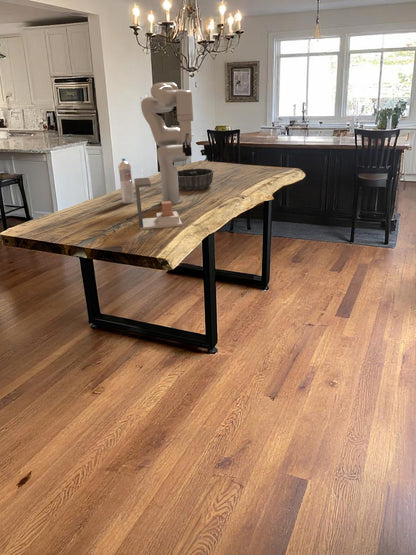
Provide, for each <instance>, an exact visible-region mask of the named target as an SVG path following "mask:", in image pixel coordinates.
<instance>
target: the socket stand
mask: <svg viewBox="0 0 416 555" xmlns="http://www.w3.org/2000/svg"><path fill="white" fill-rule="evenodd" d="M172 215H173V216H166V217H163V214H162V211H161V212H156V217H146V218H142V220H143V227H142V228H140V225H138V226H139V230H140V231H141V230H151V229H152V230H153V229H161V228H171V227H173V228H174V227H181V226H183V222H182V221H181V219H180V215H179V213H178V212H177V210H174V211H173V210H172Z"/></svg>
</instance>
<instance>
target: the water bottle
mask: <svg viewBox="0 0 416 555" xmlns="http://www.w3.org/2000/svg"><path fill="white" fill-rule="evenodd" d="M131 168H132V166H131V165H130V163H129V162H127V161H126V158H121V162H120V163H119V165H118V172H119V182H120V190H121V191H120V192H121V198H122V204H124V205H130V204H131V205H132V204H134V203H135V193H134V186H133V185H134V184H133V176H132V169H131Z"/></svg>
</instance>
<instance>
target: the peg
mask: <svg viewBox="0 0 416 555" xmlns="http://www.w3.org/2000/svg"><path fill="white" fill-rule="evenodd" d="M161 203H162V204H161ZM161 203H160V204H161V212H162V214H163V217H166V216H173V215H172V211H173V206H172V203H171V201H165V202H161Z"/></svg>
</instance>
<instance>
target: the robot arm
mask: <svg viewBox="0 0 416 555" xmlns="http://www.w3.org/2000/svg"><path fill="white" fill-rule="evenodd" d="M150 94H151V96H148V97H145V98H143V99H142V100H141V102H140V103H141V104H140V106H141V113H142V115H143V118H144V119H145V121H146V122H147V125H148V126H149V128H150V130H151V134H152V136H153V139H154V142H155V144H156V145H157V146H158V148H157V150H156V156H157V159H158V163H159V165H158V166H159V170H160V181H161V182H160V183H161V192H162V199H161V200H159V201H160V204H161V205H162V203H161V202H165V201H171V203H172V205H179V204H181V203H183V199H182V198H181V197H180V188H179V184H178V171H179V170H178V169H177V167H176V166H175V165H174V164H173V163H179V162H184V161H185V162H186V161H187V160H189V157H192V155H193V154H192V153H193V152H192V144H191V143H192V142H193V140H192V122H193V121H194V113H193V112H194V111H193V109H194V108H193V93H192V91H191V90H187V89H184V88H183V89H179V88H178V85H177V84H176V83H175V82H173V81H169V82H166V81H165V82H157V83H156V82H155V83H154V84H153V85H152V86H151V88H150ZM174 107H176V115H177V116H176V118H177V122H178V123H179V127H177V126H171V127H167V126H166V122H165V120H164V118H162V116H160V115H158V114H159V113H169V112H171V111H172V110H173V109H174ZM157 113H158V114H157Z"/></svg>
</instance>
